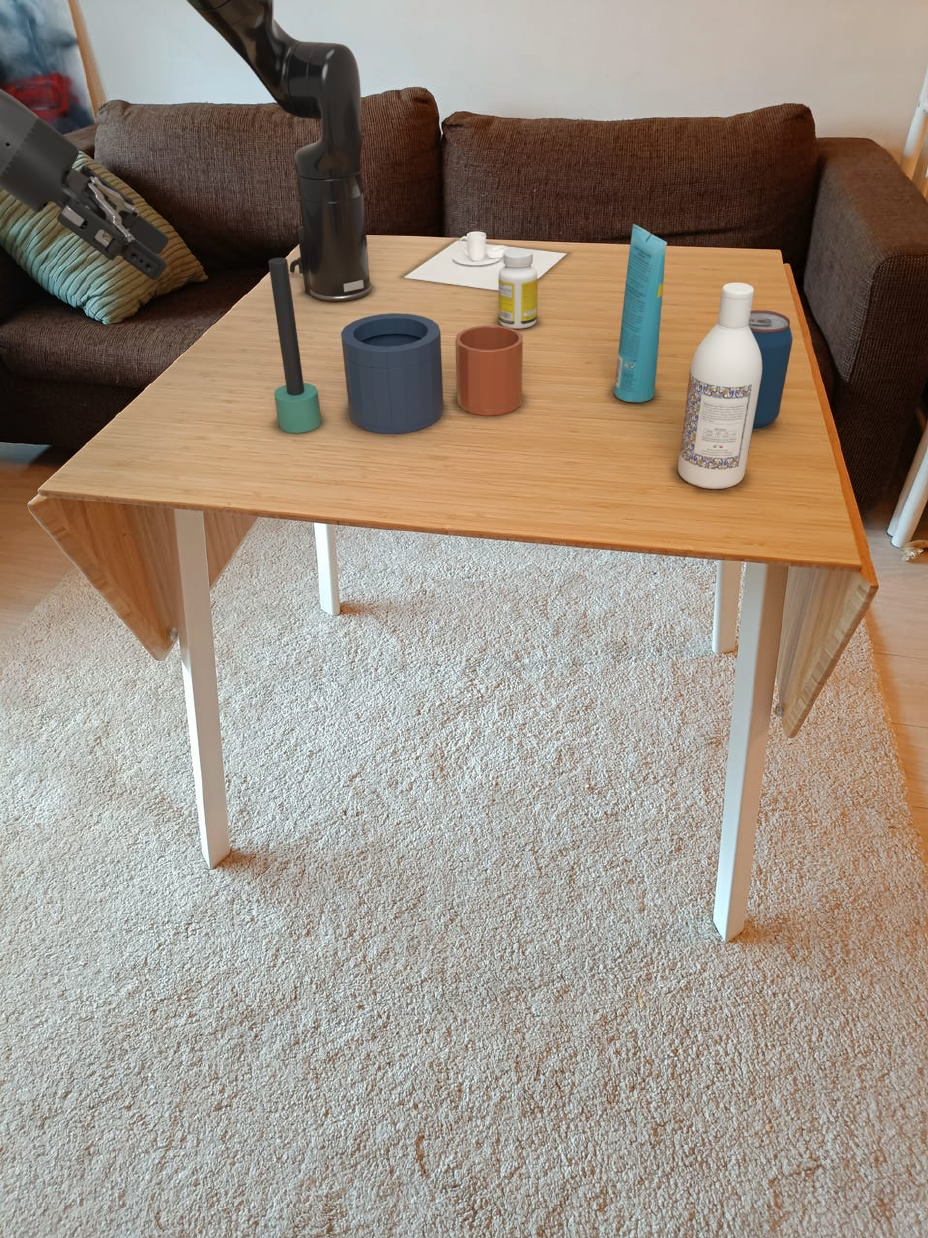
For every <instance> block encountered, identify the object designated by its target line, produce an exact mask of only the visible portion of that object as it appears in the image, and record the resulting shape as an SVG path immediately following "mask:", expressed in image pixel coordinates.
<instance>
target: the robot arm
mask: <svg viewBox="0 0 928 1238" xmlns="http://www.w3.org/2000/svg"><path fill="white" fill-rule="evenodd" d="M186 2H187V3H188V4H189V5H190V6H191V7H192V8H193V9H194V10H195V11H196V12H197V13H198V14H199V15H200V16H201V17H202V19H203V20H205V22H207V24H209V25H210V26H211V27H212V28H213V29H214V30H215V31H216V32H217V33H218V35H220V36H221V37H222V38H223V39H224V40H225V41H226V42H227V44H228V45H229V46H230V47H231V48H232V49H233V50H234V52H236V53H237V55H239V57H241V59H242V60H243V61H244V62H245V63H246V64H247V65H248V66H249V68H250V69H251V70H252V72H253V73H254V74H255V75H256V77H257V78H258V80H259V81H260V83H261V84H262V85H263V86H264V88H265V89H266V90H267V92H268V93H269V94H270V96H271V97H272V98H273V100H274V101H275V102H276V103H277V105H278V106H279V107H280V108H281V109H282V110H283V111H284V112H286V113H287V114H288V115H291V116H293V117H295V118H299V119H310V120H320V121H321V134H320V138H319V139H318V140H317V141H316V142H313V143H310V144H307V145H305V146H303V147H301V148H299V149H298V150H296V152H295V154H294V167H295V174H296V183H297V191H298V197H299V198H298V199H299V206H300V208H299V209H300V216H301V225H302V226H299V227H298V228H297V238H298V244H299V248H298V249H299V255H300V256H299V257H298V258H297V259H294V260H293V261H291V262H290V264H289V273H291V274H294V273H295V271H296V266H298V273H299V274H302V279H303V288H304V293H305V294H309V295H310V296H311V297H312V298H314V299H317V300H319V301H326V302H346V301H353V300H357V299H361V298H362V297H365V296H367V295H369V294H370V292H372V283H371V276H370V263H369V262H370V261H369V250H368V249H369V248H368V239H367V238H368V237H367V228H366V227H367V226H366V225H367V224H366V215H365V201H364V191H363V177H362V166H361V158H362V149H363V125H362V124H363V123H362V121H363V120H362V94H361V92H362V91H361V89H362V88H361V76H360V71H359V70H360V69H359V65H358V62H357V59H356V57H355V55H354V53H353V51H352V50H351V49H350V48H349V47H348V46H347V45H345V44H342V43H337V42H335V43H334V42H322V41H321V42H320V41H302V40H299V39H296V38H293V37H292V36H291V35H290V34H288V33H287V32H286V31H285V30H284V29H283V28H282V26H281V25H280V24H279V23H278V21H276V19H275V18H274V16H275V15H274V14H275V0H186ZM79 154H80V150H79V148H78V146H77V145H76V144H75V143H73V142H72V141H71V140H70V139H68V137H66V136H65V135H63V134H62V133H61V132H59V131H58V130H57V129H55V128H54V127H53V126H51V125H50V124H49V123H48V122H47V121H45V120H44V119H43V118H42V117H40V116H38V114H36V113H35V112H33V111H32V110H31V109H30V108H29V107H27V106H26V105H24V104H23V103H22V102H21V101H20V100H18V99H17V98H16V97H14V96H13V95H11V94H9V93H8V92H6V91H5V90H3V89H2V88H0V188H1V189H2V190H4V192H6V193H8V194H9V195H11V196H12V197H14V198H15V199H16V200H18V201H20V203H22V204H23V205H25V206H26V207H27V208H28V209H30V210H31V211H32V212H35V213H41V212H43V210H45V208H46V207H47V206H48V204H49V203H50V202H52V203H54V204H55V205H56V206H57V207H58V208H59V209H60V210H61V211H60V212H59V213H58V216H57V217H56V220H57V221H58V222H59V223H60V225H62V226H64V227H65V228H66V229H68V230H69V231H71V232H72V233H73V234H75V235H76V236H77V237H79V238H80V239H81V240H82V241H84V242H85V243H87V244H88V245H89V246H91V247H92V248H93V249H94V250H96V251H97V252H99V253H100V254H101V255H103V256H104V257H105V258H106V259H107V260H110V261H115V259H118V260H124V261H126V263H128V264H129V265H131V266H132V267H133V268H134V269H136V270H138V271H139V272H141V273H142V274H143V275H144V276H146V277H147V278H149V279H150V280H151V281H157V280H159V278H160V277H161V276H162V274H163V273H164V272H165V270H166V268H167V262H166V260H165V259H163V258H162V257H161V256H159V255H160V254H161V253H162V252H163V250H164V249H165V248H166V247H167V245H168V244H169V236H168V235H167V234H166V233H165V232H163V231H162V230H161V229H159V228H158V227H157V226H155V225H154V224H153V223H151V222H150V221H149V220H148V219H146V218H145V217H144V216H142V215H141V214H140V211H139V210H138V208H137V207H136V206H135V205H136V203H135V202H134V200H133V199H132V198H131V197H129V196H127V194H125V193H124V192H122V191H121V190H120V189H118V188H116V187H115V186H114V185H113V184H111V183H110V182H109V181H108V180H106V179H105V178H104V177H102V176H101V175H99V174H98V173H97V172H95V171H94V170H93V169H92V168H91V167H89V166H88V165H86V164H83V165H82V166H81V167H80V169H79V170H77V169H75V168H73V166H74V165H75V163H76V161H77V160H78V157H79Z"/></svg>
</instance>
